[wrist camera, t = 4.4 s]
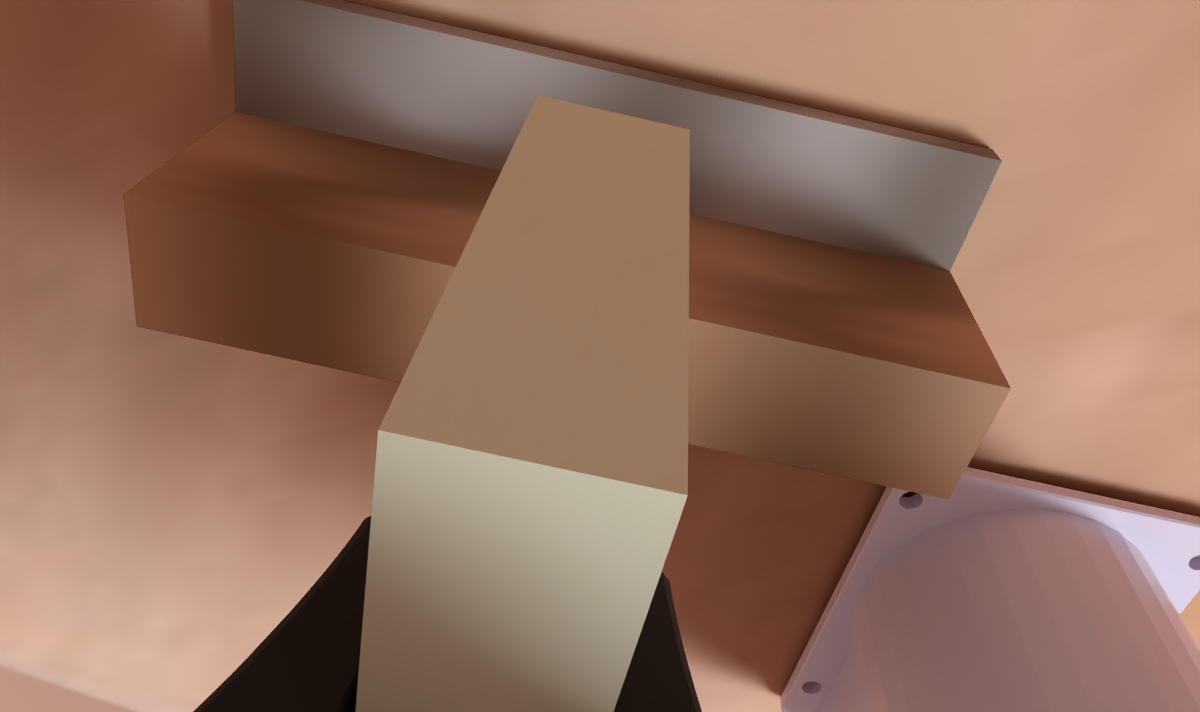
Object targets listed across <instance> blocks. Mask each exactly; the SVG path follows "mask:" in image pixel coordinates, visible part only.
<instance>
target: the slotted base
mask: <svg viewBox="0 0 1200 712" xmlns="http://www.w3.org/2000/svg"><path fill="white" fill-rule="evenodd" d="M233 29H234V71H235V112H234V113H233V114H232V115H230V116H229V117H228V118H226V119H225V120H224V121H222V122H221V123H220V124H218V125H217V126H215V127H214V128H213V129H211V130H210V131H209V132H207V133H206V134H205V135H203V136H202V137H201V138H199V139H198V140H197V141H195V142H194V143H192V144H191V145H190V146H188V147H187V148H186V149H184V150H183V151H182V152H180V153H179V154H178V155H176V156H175V157H174V158H172V159H171V160H169V161H168V162H167V163H165V164H164V165H163V166H161V167H160V168H159V169H157V170H156V171H155V172H153V173H152V174H151V175H149V176H148V177H147V178H145V179H144V180H142V181H141V182H140V183H138V184H137V185H136V186H134V187H133V188H132V189H130V190H129V191H128V192H126V193H125V194H124V202H125V213H126V223H127V233H128V243H129V253H130V263H131V273H132V283H133V293H134V303H135V313H136V323H137V327H142V328H147V329H151V330H156V331H161V332H166V333H170V334H175V335H180V336H184V337H189V338H194V339H198V340H203V341H208V342H212V343H217V344H222V345H226V346H231V347H236V348H241V349H245V350H250V351H255V352H259V353H264V354H269V355H273V356H278V357H283V358H287V359H292V360H297V361H301V362H306V363H311V364H315V365H320V366H325V367H330V368H334V369H339V370H344V371H348V372H353V373H358V374H362V375H367V376H372V377H376V378H381V379H386V380H390V381H395V382H400V383H401V381H402V379H403V377H404V375H405V373H406V370H407V368H408V366H409V364H410V362H411V360H412V358H413V356H414V354H415V351H416V349H417V347H418V345H419V343H420V341H421V339H422V337H423V335H424V333H425V330H426V328H427V326H428V324H429V322H430V320H431V318H432V316H433V314H434V312H435V309H436V307H437V305H438V303H439V301H440V299H441V297H442V295H443V293H444V291H445V288H446V286H447V284H448V282H449V280H450V278H451V276H452V274H453V272H454V270H455V267H456V265H457V263H458V261H459V259H460V257H461V255H462V253H463V251H464V248H465V246H466V244H467V242H468V240H469V238H470V236H471V234H472V232H473V230H474V227H475V225H476V223H477V221H478V219H479V217H480V215H481V213H482V211H483V209H484V206H485V204H486V202H487V200H488V198H489V196H490V194H491V192H492V190H493V188H494V185H495V183H496V181H497V179H498V177H499V175H500V173H501V171H502V169H503V167H504V164H505V162H506V160H507V158H508V156H509V154H510V152H511V150H512V148H513V145H514V143H515V141H516V139H517V137H518V135H519V133H520V131H521V129H522V127H523V124H524V122H525V120H526V118H527V116H528V114H529V112H530V110H531V108H532V106H533V103H534V101H535V99H536V97H537V95H540V96H544V97H549V98H553V99H557V100H562V101H566V102H571V103H575V104H579V105H584V106H588V107H593V108H597V109H601V110H606V111H610V112H615V113H619V114H624V115H628V116H632V117H637V118H641V119H646V120H650V121H654V122H659V123H663V124H668V125H672V126H676V127H681V128H685V129H690V196H689V377H688V444H690V445H695V446H700V447H704V448H709V449H714V450H718V451H723V452H728V453H732V454H737V455H742V456H746V457H751V458H756V459H760V460H765V461H770V462H775V463H779V464H784V465H789V466H793V467H798V468H803V469H807V470H812V471H817V472H821V473H826V474H831V475H835V476H840V477H845V478H850V479H854V480H859V481H864V482H868V483H873V484H878V485H882V486H887V487H892V488H896V489H901V490H906V491H910V492H915V493H920V494H924V495H929V496H934V497H939V498H943V499H948V500H949V498H950V496H951V494H952V493H953V491H954V489H955V487H956V485H957V484H958V482H959V480H960V478H961V477H962V475H963V473H964V471H965V469H966V468H967V466H968V464H969V462H970V461H971V459H972V457H973V455H974V453H975V452H976V450H977V448H978V446H979V444H980V443H981V441H982V439H983V437H984V436H985V434H986V432H987V430H988V428H989V427H990V425H991V423H992V421H993V420H994V418H995V416H996V414H997V412H998V411H999V409H1000V407H1001V405H1002V403H1003V402H1004V400H1005V398H1006V396H1007V395H1008V393H1009V391H1010V389H1011V388H1010V386H1009V384H1008V382H1007V380H1006V378H1005V376H1004V374H1003V373H1002V371H1001V369H1000V367H999V365H998V363H997V361H996V359H995V357H994V355H993V353H992V351H991V350H990V348H989V346H988V344H987V342H986V340H985V338H984V336H983V334H982V332H981V330H980V328H979V327H978V325H977V323H976V321H975V319H974V317H973V315H972V313H971V311H970V309H969V307H968V305H967V304H966V302H965V300H964V298H963V296H962V294H961V292H960V290H959V288H958V286H957V284H956V282H955V281H954V279H953V277H952V275H951V273H950V270H951V267H952V265H953V263H954V261H955V259H956V257H957V255H958V253H959V251H960V248H961V246H962V244H963V242H964V240H965V238H966V236H967V234H968V231H969V229H970V227H971V225H972V223H973V221H974V219H975V217H976V215H977V212H978V210H979V208H980V206H981V204H982V202H983V200H984V198H985V195H986V193H987V191H988V189H989V187H990V185H991V183H992V181H993V179H994V176H995V174H996V172H997V170H998V168H999V166H1000V164H1001V162H1002V161H1001V159H1000V158H999V157H998V156H997V154H996V153H995V152H994V151H993V149H989V148H984V147H980V146H975V145H971V144H967V143H962V142H958V141H954V140H949V139H945V138H941V137H936V136H932V135H927V134H923V133H919V132H914V131H910V130H906V129H901V128H897V127H893V126H888V125H884V124H879V123H875V122H871V121H866V120H862V119H858V118H853V117H849V116H845V115H840V114H836V113H831V112H827V111H823V110H818V109H814V108H810V107H805V106H801V105H797V104H792V103H788V102H783V101H779V100H775V99H770V98H766V97H762V96H757V95H753V94H749V93H744V92H740V91H735V90H731V89H727V88H722V87H718V86H714V85H709V84H705V83H701V82H696V81H692V80H687V79H683V78H679V77H674V76H670V75H666V74H661V73H657V72H653V71H648V70H644V69H639V68H635V67H631V66H626V65H622V64H618V63H613V62H609V61H605V60H600V59H596V58H591V57H587V56H583V55H578V54H574V53H570V52H565V51H561V50H557V49H552V48H548V47H543V46H539V45H535V44H530V43H526V42H522V41H517V40H513V39H509V38H504V37H500V36H496V35H491V34H487V33H482V32H478V31H474V30H469V29H465V28H461V27H456V26H452V25H448V24H443V23H439V22H434V21H430V20H426V19H421V18H417V17H413V16H408V15H404V14H400V13H395V12H391V11H386V10H382V9H378V8H373V7H369V6H365V5H360V4H356V3H352V2H347V1H343V0H233Z"/></svg>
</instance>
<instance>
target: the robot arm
mask: <svg viewBox="0 0 1200 712" xmlns="http://www.w3.org/2000/svg"><path fill="white" fill-rule="evenodd" d="M907 492H910V491H906V490H901V489H896V488H892V487H886V489H885V491H884V493H883V495H882V497H881V499H880V501H879V503H878V505H877V507H876V509H875V511H874V513H873V515H872V517H871V519H870V521H869V523H868V525H867V527H866V529H865V531H864V533H863V535H862V537H861V539H860V541H859V543H858V545H857V547H856V549H855V551H854V553H853V555H852V557H851V559H850V561H849V563H848V565H847V567H846V569H845V571H844V573H843V575H842V576H841V578H840V580H839V582H838V584H837V586H836V588H835V590H834V592H833V594H832V596H831V598H830V600H829V602H828V604H827V606H826V608H825V610H824V612H823V614H822V616H821V618H820V620H819V622H818V624H817V626H816V628H815V630H814V632H813V634H812V636H811V638H810V640H809V642H808V644H807V646H806V648H805V650H804V652H803V654H802V656H801V658H800V660H799V662H798V664H797V666H796V668H795V670H794V672H793V674H792V676H791V678H790V680H789V682H788V684H787V686H786V688H785V690H784V692H783V694H782V696H781V708H782V711H783V712H1200V649H1199V648H1198V646H1197V644H1196V643H1195V641H1194V639H1193V637H1192V636H1191V634H1190V632H1189V631H1188V629H1187V627H1186V625H1185V624H1184V622H1183V620H1182V619H1181V617H1180V615H1179V614H1180V613H1181V612H1182V611H1183V609H1184V608H1185V607H1186V606H1187V605H1188V603H1189V602H1190V601H1191V600H1192V599H1193V597H1194V596H1195V595H1196V594H1197V593H1198V591H1199V590H1200V556H1197V555H1200V517H1197V516H1193V515H1188V514H1183V513H1179V512H1174V511H1169V510H1165V509H1160V508H1156V507H1151V506H1146V505H1142V504H1137V503H1132V502H1128V501H1123V500H1118V499H1114V498H1109V497H1104V496H1100V495H1095V494H1090V493H1086V492H1081V491H1076V490H1072V489H1067V488H1063V487H1058V486H1053V485H1049V484H1044V483H1039V482H1035V481H1030V480H1025V479H1021V478H1016V477H1011V476H1007V475H1002V474H997V473H993V472H988V471H983V470H979V469H974V468H970V467H967V468H966V469H965V471H964V473H963V475H962V477H961V478H960V480H959V482H958V484H957V485H956V487H955V489H954V491H953V493H952V494H951V496H950V498H949V500H948V499H943V498H939V497H934V496H929V495H924V494H920V493H916V494H915V495H914V496H911V497H901V496H902V495H903V494H905V493H907ZM370 525H371V516H369V517H367V518H365V520H364V521H363V522H362V524H361V525H360V527H359V528H358V529H357V531H356V532H355V534H354V535H353V536H352V538H351V539H350V540H349V542H348V543H347V544H346V546H345V547H344V548H343V550H342V551H341V552H340V553H339V555H338V556H337V557H336V558H335V560H334V561H333V562H332V563H331V565H330V566H329V567H328V568H327V570H326V571H325V572H324V573H323V574H322V576H321V577H320V578H319V579H318V580H317V582H316V583H315V584H314V585H313V586H312V587H311V589H310V590H309V591H308V592H307V593H306V594H305V596H304V597H303V598H302V599H301V600H300V601H299V603H298V604H297V605H296V606H295V607H294V608H293V609H292V610H291V612H290V613H289V614H288V615H287V616H286V617H285V618H284V619H283V620H282V621H281V622H280V623H279V625H278V626H277V627H276V628H275V629H274V630H273V631H272V632H271V633H270V634H269V635H268V636H267V637H266V639H265V640H264V641H263V642H262V643H261V644H260V645H259V646H258V647H257V648H256V649H255V650H254V651H253V653H252V654H251V655H250V656H249V657H248V658H247V659H246V660H245V661H244V662H243V663H242V664H241V665H240V666H239V667H238V668H237V669H236V670H235V671H234V672H233V673H232V674H231V676H230V677H228V678H227V679H226V680H225V681H224V682H223V683H222V684H221V685H220V686H219V687H218V688H217V689H216V690H215V691H214V692H213V693H212V694H211V695H210V696H209V697H208V698H207V699H206V700H205V701H204V702H203V703H202V704H201V705H200V706H199V707H198V708H197V709H196V710H195V711H194V712H355V710H356V698H357V686H358V673H359V661H360V649H361V636H362V624H363V611H364V599H365V587H366V574H367V562H368V549H369V537H370ZM1194 556H1197V557H1194ZM1193 557H1194V558H1193ZM810 681H812V682H810ZM614 712H702V711H701V708H700V704H699V701H698V698H697V694H696V691H695V688H694V684H693V681H692V677H691V673H690V670H689V666H688V662H687V659H686V655H685V651H684V647H683V643H682V639H681V636H680V631H679V627H678V623H677V618H676V613H675V609H674V604H673V599H672V593H671V587H670V582H669V580H668V579H667V578H666V576H665V575H664V574H663V573H662V572H661V575H660V578H659V581H658V584H657V587H656V589H655V592H654V595H653V598H652V601H651V604H650V607H649V610H648V613H647V616H646V619H645V621H644V624H643V627H642V630H641V633H640V636H639V639H638V642H637V645H636V648H635V651H634V653H633V656H632V659H631V662H630V665H629V668H628V671H627V674H626V677H625V680H624V683H623V685H622V688H621V691H620V694H619V697H618V700H617V703H616V706H615V709H614Z"/></svg>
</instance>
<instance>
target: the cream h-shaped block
mask: <svg viewBox="0 0 1200 712" xmlns="http://www.w3.org/2000/svg"><path fill="white" fill-rule="evenodd" d="M689 196H690V129H685V128H681V127H676V126H672V125H668V124H663V123H659V122H654V121H650V120H646V119H641V118H637V117H632V116H628V115H624V114H619V113H615V112H610V111H606V110H601V109H597V108H593V107H588V106H584V105H579V104H575V103H571V102H566V101H562V100H557V99H553V98H549V97H544V96H540V95H537V97H536V99H535V101H534V103H533V106H532V108H531V110H530V112H529V114H528V116H527V118H526V120H525V122H524V124H523V127H522V129H521V131H520V133H519V135H518V137H517V139H516V141H515V143H514V145H513V148H512V150H511V152H510V154H509V156H508V158H507V160H506V162H505V164H504V167H503V169H502V171H501V173H500V175H499V177H498V179H497V181H496V183H495V185H494V188H493V190H492V192H491V194H490V196H489V198H488V200H487V202H486V204H485V206H484V209H483V211H482V213H481V215H480V217H479V219H478V221H477V223H476V225H475V227H474V230H473V232H472V234H471V236H470V238H469V240H468V242H467V244H466V246H465V248H464V251H463V253H462V255H461V257H460V259H459V261H458V263H457V265H456V267H455V270H454V272H453V274H452V276H451V278H450V280H449V282H448V284H447V286H446V288H445V291H444V293H443V295H442V297H441V299H440V301H439V303H438V305H437V307H436V309H435V312H434V314H433V316H432V318H431V320H430V322H429V324H428V326H427V328H426V330H425V333H424V335H423V337H422V339H421V341H420V343H419V345H418V347H417V349H416V351H415V354H414V356H413V358H412V360H411V362H410V364H409V366H408V368H407V370H406V373H405V375H404V377H403V379H402V381H401V383H400V385H399V387H398V389H397V391H396V394H395V396H394V398H393V400H392V402H391V404H390V406H389V408H388V410H387V412H386V415H385V417H384V419H383V421H382V423H381V425H380V427H379V429H378V438H377V450H376V463H375V475H374V488H373V500H372V512H371V525H370V537H369V549H368V562H367V574H366V587H365V599H364V611H363V624H362V636H361V649H360V661H359V673H358V686H357V698H356V710H355V712H614V709H615V706H616V703H617V700H618V697H619V694H620V691H621V688H622V685H623V683H624V680H625V677H626V674H627V671H628V668H629V665H630V662H631V659H632V656H633V653H634V651H635V648H636V645H637V642H638V639H639V636H640V633H641V630H642V627H643V624H644V621H645V619H646V616H647V613H648V610H649V607H650V604H651V601H652V598H653V595H654V592H655V589H656V587H657V584H658V581H659V578H660V575H661V572H662V569H663V566H664V563H665V560H666V557H667V555H668V552H669V549H670V546H671V543H672V540H673V537H674V534H675V531H676V528H677V525H678V523H679V520H680V517H681V514H682V511H683V508H684V505H685V502H686V499H687V496H688V377H689Z"/></svg>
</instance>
